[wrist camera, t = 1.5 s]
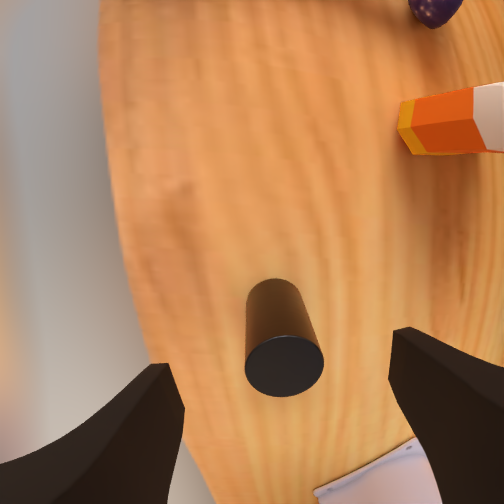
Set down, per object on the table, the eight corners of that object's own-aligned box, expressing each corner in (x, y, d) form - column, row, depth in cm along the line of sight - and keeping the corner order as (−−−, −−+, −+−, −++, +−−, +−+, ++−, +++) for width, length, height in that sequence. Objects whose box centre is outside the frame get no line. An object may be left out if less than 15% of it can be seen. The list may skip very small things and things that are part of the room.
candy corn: (470, 95, 11) (585, 77, 4) (481, 149, 12) (599, 159, 4) (378, 100, 12) (498, 52, 4) (392, 163, 13) (524, 174, 5)
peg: (268, 337, 15) (275, 408, 10) (234, 300, 14) (227, 364, 9) (312, 307, 14) (338, 371, 10) (280, 267, 14) (295, 320, 9)
